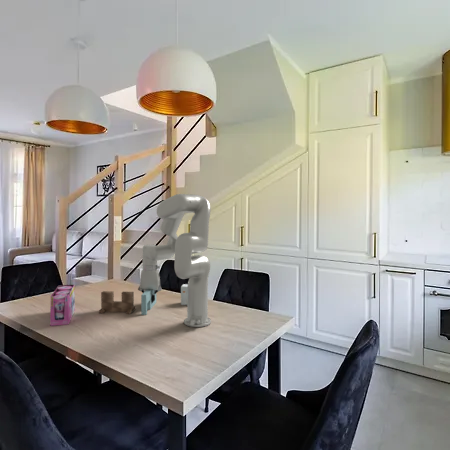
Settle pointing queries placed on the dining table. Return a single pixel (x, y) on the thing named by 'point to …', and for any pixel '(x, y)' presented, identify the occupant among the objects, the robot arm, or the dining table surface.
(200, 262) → the robot arm
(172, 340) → the dining table surface
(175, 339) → the dining table surface
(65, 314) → the gum box
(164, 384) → the dining table surface
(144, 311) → the notched board
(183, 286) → the small box
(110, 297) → the notched wall
